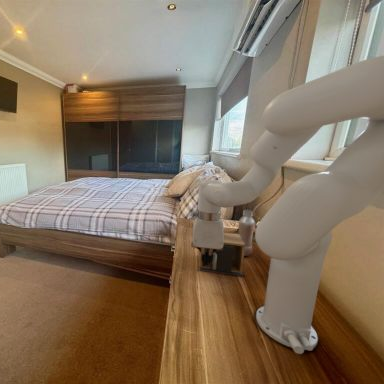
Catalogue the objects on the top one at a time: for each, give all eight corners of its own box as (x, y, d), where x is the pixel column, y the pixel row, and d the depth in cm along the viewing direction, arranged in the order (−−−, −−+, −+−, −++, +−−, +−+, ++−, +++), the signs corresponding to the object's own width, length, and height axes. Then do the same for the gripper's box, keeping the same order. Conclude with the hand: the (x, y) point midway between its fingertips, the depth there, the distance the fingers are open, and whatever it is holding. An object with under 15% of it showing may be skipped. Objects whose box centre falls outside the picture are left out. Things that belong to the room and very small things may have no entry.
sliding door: (233, 278, 72) (236, 252, 70) (211, 274, 74) (213, 249, 72) (230, 270, 76) (233, 246, 74) (209, 268, 78) (211, 243, 76)
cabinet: (243, 276, 74) (246, 246, 72) (199, 270, 78) (201, 241, 76) (235, 260, 85) (238, 233, 82) (198, 256, 89) (199, 230, 87)
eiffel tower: (256, 234, 111) (262, 190, 106) (256, 241, 102) (261, 193, 97) (235, 230, 116) (239, 188, 112) (232, 237, 108) (237, 191, 103)
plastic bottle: (247, 250, 93) (252, 208, 89) (254, 258, 87) (260, 213, 83) (232, 250, 94) (236, 208, 90) (239, 257, 87) (243, 213, 83)
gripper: (186, 217, 69) (184, 265, 72) (234, 220, 65) (230, 271, 68) (186, 210, 76) (184, 255, 79) (229, 213, 72) (225, 260, 76)
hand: (205, 263), depth 74 cm, fingers closed
